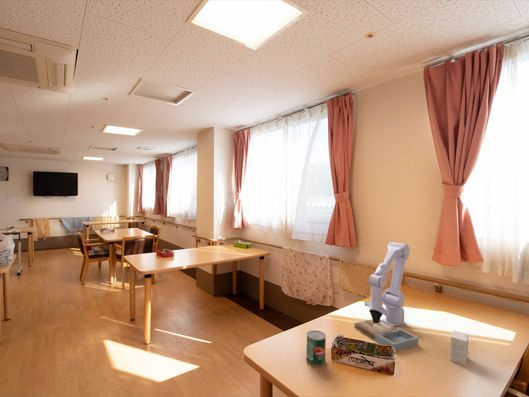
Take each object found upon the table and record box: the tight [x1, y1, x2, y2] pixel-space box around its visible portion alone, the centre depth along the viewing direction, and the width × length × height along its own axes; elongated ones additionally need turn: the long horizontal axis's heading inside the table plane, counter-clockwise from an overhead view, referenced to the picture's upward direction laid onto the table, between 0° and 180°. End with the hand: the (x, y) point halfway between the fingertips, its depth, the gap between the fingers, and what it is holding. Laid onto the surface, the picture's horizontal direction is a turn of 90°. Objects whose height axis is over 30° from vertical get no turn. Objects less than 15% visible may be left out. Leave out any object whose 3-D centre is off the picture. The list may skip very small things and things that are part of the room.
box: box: [374, 328, 419, 353], centre depth 136 cm, size 16×11×4 cm
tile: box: [373, 322, 391, 333], centre depth 144 cm, size 6×6×2 cm
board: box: [354, 318, 400, 341], centre depth 148 cm, size 16×14×2 cm
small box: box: [450, 330, 469, 367], centre depth 123 cm, size 8×6×10 cm
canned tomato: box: [305, 330, 327, 367], centre depth 120 cm, size 8×8×11 cm
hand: (375, 324), depth 148 cm, fingers closed
